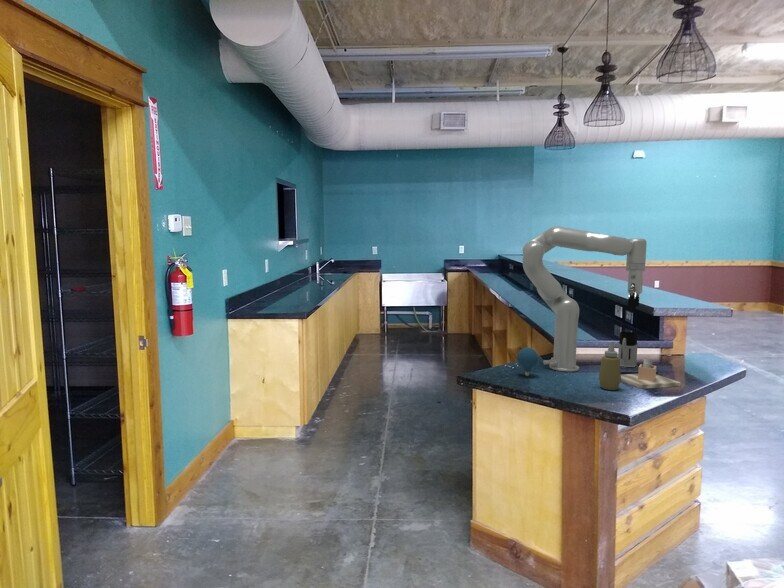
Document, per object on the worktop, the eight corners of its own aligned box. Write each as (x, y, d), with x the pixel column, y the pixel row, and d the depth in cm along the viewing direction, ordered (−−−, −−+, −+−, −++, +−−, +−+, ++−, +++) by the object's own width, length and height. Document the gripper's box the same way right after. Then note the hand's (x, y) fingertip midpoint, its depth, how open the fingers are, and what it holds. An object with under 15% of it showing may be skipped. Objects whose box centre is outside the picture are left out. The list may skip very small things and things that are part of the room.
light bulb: (539, 375, 230) (540, 346, 229) (535, 379, 223) (536, 350, 222) (519, 372, 234) (520, 345, 233) (514, 377, 226) (515, 348, 225)
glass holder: (639, 365, 252) (641, 332, 250) (632, 371, 240) (634, 337, 239) (619, 362, 257) (620, 330, 255) (611, 368, 245) (613, 335, 244)
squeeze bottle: (618, 392, 205) (621, 345, 203) (596, 389, 209) (598, 342, 208) (622, 387, 212) (624, 341, 210) (600, 384, 216) (602, 339, 215)
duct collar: (637, 379, 220) (638, 366, 219) (639, 376, 225) (640, 364, 224) (654, 381, 217) (655, 368, 216) (655, 378, 222) (656, 366, 221)
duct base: (641, 388, 211) (642, 364, 210) (614, 378, 226) (615, 355, 225) (680, 386, 215) (681, 362, 214) (651, 376, 231) (652, 354, 230)
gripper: (642, 268, 226) (640, 309, 228) (647, 266, 241) (645, 305, 242) (623, 267, 230) (621, 308, 231) (628, 266, 244) (626, 304, 246)
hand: (633, 306), depth 237 cm, fingers open, 9 cm apart
